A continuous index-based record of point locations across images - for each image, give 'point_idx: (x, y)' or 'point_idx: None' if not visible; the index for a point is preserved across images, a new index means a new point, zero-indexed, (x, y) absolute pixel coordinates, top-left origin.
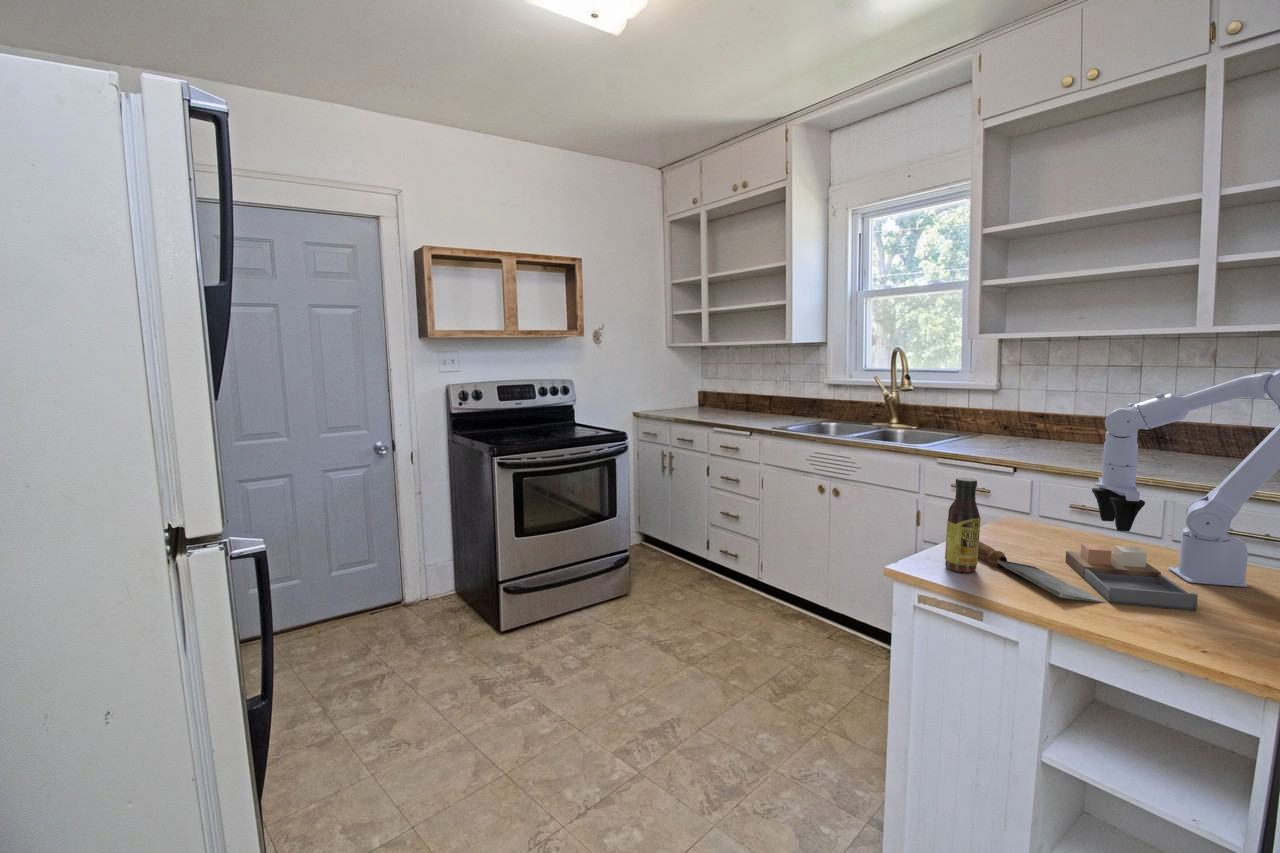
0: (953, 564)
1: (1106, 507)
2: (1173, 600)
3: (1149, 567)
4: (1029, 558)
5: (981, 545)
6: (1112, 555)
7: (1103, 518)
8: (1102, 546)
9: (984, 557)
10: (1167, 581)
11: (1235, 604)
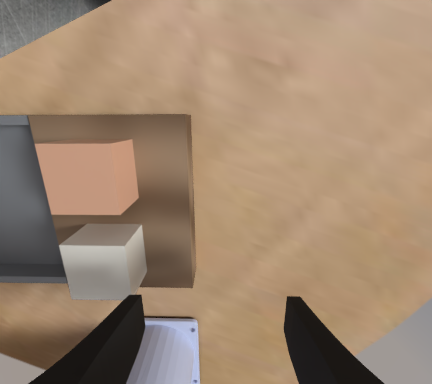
0: None
1: (313, 374)
2: None
3: None
4: (200, 4)
5: None
6: (179, 234)
7: (289, 307)
8: (95, 204)
9: None
10: (22, 275)
11: (28, 333)
